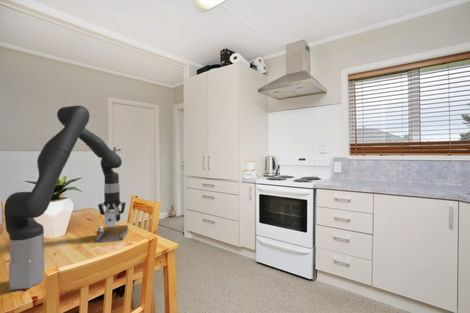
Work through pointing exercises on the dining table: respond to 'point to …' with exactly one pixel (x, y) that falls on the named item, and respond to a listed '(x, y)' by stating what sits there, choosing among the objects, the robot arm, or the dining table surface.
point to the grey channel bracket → (112, 234)
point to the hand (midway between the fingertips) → (112, 221)
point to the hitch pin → (100, 229)
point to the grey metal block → (111, 218)
